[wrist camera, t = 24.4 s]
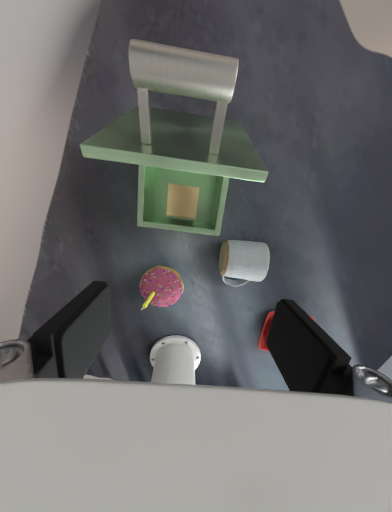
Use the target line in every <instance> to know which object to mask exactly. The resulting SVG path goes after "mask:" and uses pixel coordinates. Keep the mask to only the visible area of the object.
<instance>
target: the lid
mask: <svg viewBox="0 0 392 512" xmlns="http://www.w3.org/2000/svg"><path fill="white" fill-rule="evenodd" d="M238 66H239V60H238V59H237V58H233V57H228V56H222V55H217V54H211V53H206V52H201V51H195V50H190V49H185V48H179V47H174V46H169V45H163V44H158V43H153V42H147V41H142V40H137V39H131V40H130V43H129V68H130V74H131V79H132V82H133V85H134V87H136V88H137V96H138V106H137V107H136V108H134V109H133V110H131V111H130V112H128V113H127V114H125V115H124V116H122V117H121V118H119V119H118V120H116V121H115V122H113V123H112V124H110V125H109V126H107V127H106V128H104V129H103V130H101V131H99V132H98V133H96V134H95V135H93V136H92V137H90V138H89V139H87V140H86V141H84V142H83V143H81V144H80V148H81V151H82V154H83V157H87V158H94V159H101V160H108V161H116V162H123V163H130V164H137V165H144V166H151V167H158V168H165V169H172V170H179V171H186V172H193V173H200V174H207V175H215V176H222V177H229V178H236V179H243V180H250V181H257V182H265V180H266V178H267V175H268V173H269V172H268V170H267V168H266V167H265V165H264V163H263V161H262V160H261V158H260V156H259V155H258V153H257V151H256V149H255V148H254V146H253V144H252V143H251V141H250V139H249V137H248V136H247V134H246V132H245V130H244V129H243V127H242V125H241V124H240V122H238V121H232V120H226V119H225V115H226V110H227V105H228V104H229V103H230V102H231V100H232V97H233V93H234V89H235V84H236V79H237V73H238ZM150 90H151V91H157V92H163V93H169V94H175V95H180V96H186V97H192V98H198V99H204V100H210V101H216V107H215V113H214V118H213V117H207V116H201V115H195V114H189V113H183V112H177V111H171V110H164V109H158V108H152V107H151V98H150Z"/></svg>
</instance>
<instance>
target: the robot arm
mask: <svg viewBox="0 0 392 512" xmlns="http://www.w3.org/2000/svg"><path fill="white" fill-rule="evenodd" d="M110 329H111V305H110V285H107V283H106V282H102V281H93V282H92V283H91V284H90V285H89V286H87V287H86V288H85V289H84V290H83V291H82V292H81V293H79V294H78V295H77V296H76V297H75V298H74V299H72V300H71V301H70V302H69V303H68V304H67V305H66V306H64V307H63V308H62V309H61V310H60V311H59V312H57V313H56V314H55V315H54V316H53V317H52V318H51V319H49V320H48V321H47V322H46V323H45V324H44V325H43V326H41V327H40V328H39V329H38V330H37V331H36V332H34V333H33V336H32V337H31V338H29V339H28V340H27V341H25V340H20V339H16V340H9V341H4V342H1V343H0V512H392V380H390V379H389V378H388V377H386V376H385V375H383V374H382V373H380V372H378V371H377V370H375V369H373V368H370V367H368V366H364V365H354V366H353V367H351V366H350V365H349V362H350V360H351V357H350V356H349V355H348V354H347V353H346V352H345V351H344V350H343V349H342V348H341V347H340V346H339V345H338V344H337V343H336V342H335V341H334V340H333V339H332V338H331V337H330V336H329V335H328V334H327V333H326V332H325V331H324V330H323V329H322V328H321V327H320V326H319V325H318V324H317V323H316V322H315V321H314V320H313V319H312V318H311V317H310V316H309V315H308V314H307V313H306V312H305V311H304V310H303V309H302V308H301V307H300V306H299V305H297V304H296V303H295V302H294V301H293V300H287V299H281V300H280V301H279V302H277V305H276V308H275V312H274V315H273V319H272V322H271V325H270V329H269V332H268V336H267V339H266V344H267V347H268V349H269V351H270V353H271V355H272V357H273V359H274V361H275V363H276V365H277V366H278V368H279V370H280V372H281V374H282V376H283V378H284V380H285V382H286V384H287V386H288V388H289V390H290V391H284V390H269V389H255V388H239V387H223V386H207V385H195V369H196V368H197V367H198V365H199V363H200V357H201V356H200V350H199V347H198V346H197V344H196V343H195V342H194V341H192V340H191V339H189V338H187V337H184V336H179V335H171V336H167V337H164V338H162V339H160V340H158V341H157V342H156V343H155V344H154V346H153V347H152V349H151V353H150V362H151V364H152V366H153V367H154V369H153V374H152V379H151V382H138V381H120V380H99V379H83V377H84V375H85V374H86V372H87V370H88V368H89V367H90V365H91V363H92V362H93V360H94V358H95V357H96V355H97V353H98V352H99V350H100V348H101V347H102V345H103V343H104V342H105V340H106V338H107V336H108V335H109V333H110Z"/></svg>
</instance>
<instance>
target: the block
mask: <svg viewBox="0 0 392 512" xmlns="http://www.w3.org/2000/svg"><path fill="white" fill-rule="evenodd" d="M199 190H200V188H199V187H192V186H185V185H178V184H170V183H169V184H168V196H167V209H166V215H168V216H176V217H184V218H192V219H196V214H197V206H198V198H199Z"/></svg>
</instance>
